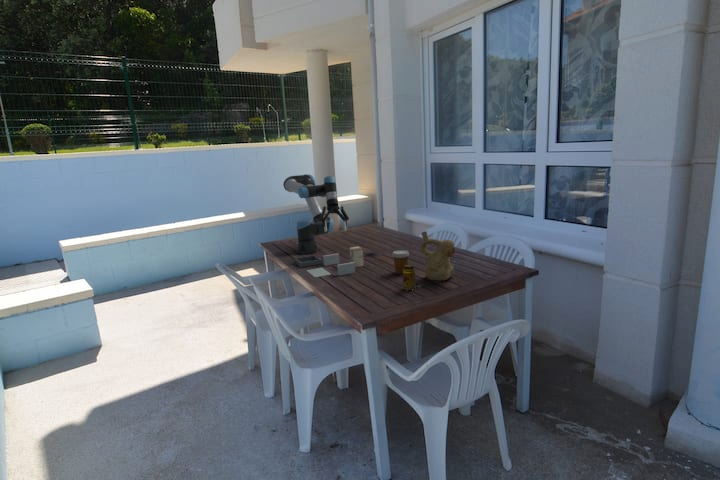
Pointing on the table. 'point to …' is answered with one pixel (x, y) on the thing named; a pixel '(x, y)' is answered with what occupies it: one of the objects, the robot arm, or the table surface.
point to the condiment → (409, 277)
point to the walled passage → (342, 268)
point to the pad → (318, 272)
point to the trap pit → (308, 261)
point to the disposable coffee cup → (400, 260)
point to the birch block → (356, 256)
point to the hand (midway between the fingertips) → (335, 231)
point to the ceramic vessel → (438, 258)
